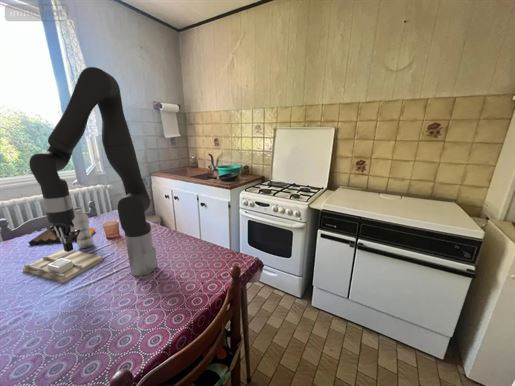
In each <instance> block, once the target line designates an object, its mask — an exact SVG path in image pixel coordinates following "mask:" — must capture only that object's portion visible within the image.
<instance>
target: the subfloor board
mask: <svg viewBox="0 0 515 386" xmlns="http://www.w3.org/2000/svg"><path fill="white" fill-rule="evenodd" d="M60 258H63V259H67V260H71V261H72V263H73V268H71V269H69V270H67V271H65V272H63V273H62V274H61V273H57V272H53V271H50V270H48V266H47V265H48V264H50V263H52V262H54V261H56V260H58V259H60ZM102 261H104V257H103V256H101V255H96V254H93V253H88V252H84V251H83V252H82V251H78V250H74V249H73V250H72V251H70V252H66V251H64V248H62V249H61V250H58V251H56V252H53V253H52V254H49V255H48V256H46V255H42V258H41V259H39V260H36V261H33V262H32V263H30V264H27V263H24V264H23V267H21V268H22V271H23V272H25V273H30V274H33V275H35V276H39V277H42V278H46V279H50V280H54V281H57V282H60V283H63V284H64V283H66V282H68V281H70V280H71V279H73V278H75V277H76V276H78V275H80V274H81V273H84V272H85V271H86V270H88V269H90V268H92V267H93V266H95V265H97V264H98V263H100V262H102Z"/></svg>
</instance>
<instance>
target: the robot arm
mask: <svg viewBox="0 0 515 386" xmlns="http://www.w3.org/2000/svg"><path fill="white" fill-rule="evenodd" d="M70 96H71V97H70V99H69V101H68V103H67V105H66V107H65V110H64V111H63V114H62V116H61V118H60V119H59V121H58V122H57V123H56V125H55V126H54V128H53V130H52V131H51V133H50V134H49V136H48V138H47V143H48V145H49V146H48V149H47V150H46V151H43V152H38V153H35V154H33V155H32V156H30V158H29V169H30V171H31V174H32V175H33V177H34V178H35V180H36V182H37V183H38V184H39V187H40V190H41V195H42V197H43V198H42V199H43V207H44V211H45V215H46V219H47V222H48V223H49V224H52V226H49V227H48V229H50V231H51V232H52V233H53V235H54V236H55V237H56V239H57V240H58V241H59V240H60V241H61V244H62V246H63V249H64V251H66V252H70V251H72V250H74V245H73V242H75V241H74V240H76V239H77V237H78V235H79V233H80V230H79V229H77V230H76V229H75V228H74V224H73V222H72V220H73V219H74V218H75V213H74V204H73V199H72V198H71V195H70V191H69V185H68V182H67V180H66V179H64V178H61V177H60V175H59V173H58V172H61V171H62V170H64V169H65V168H66V167H67V165H68V164H69V162H70V160H71V158H72V155H73V151H74V149H75V148H76V147H77V145H78V143H79V142H80V140H81V138H82V137H83V136H84V134H85V131H86V129H87V124H88V121H89V118H90V115H91V114H92V111H93V110H94V109H95V107H96V106H97V107H98V109H99V112H100V116H101V141H102V142H101V143H102V146H103V150H104V152H105V156H106V159H107V160H108V163H109V165H110V166H111V167H112V169H113V170H114V171H115V172H116V174H117V175H118V176H119V178H120V179H121V182H122V184H123V189H124V191H125V195H124V196H123V197H121V198H120V199H119V201H118V203H117V213H118V219H119V223H120V228H121V229H122V231H123V232H124V237H125V238H124V239H125V244H126V245H125V246H126V249H127V257H128V262H129V268H130V274H131V275H133V276H135V277H141V276H149V275H150V274H151V273H152V272H154V270H156V269H157V268H158V260H157V259H158V258H157V252H156V247H154V245H153V235H152V228H151V223H150V222H148V221H147V220H146V214H145V212H147V211H148V209H150V206H151V199H150V196H149V193H148V190H147V188H146V186H145V182H144V180H143V177H142V174H141V169H140V166H139V162H138V158H137V153H136V150H135V146H134V141H133V139H132V137H131V136H132V135H131V133H130V129H129V126H128V122H127V120H126V117H125V113H124V109H123V108H124V107H123V102H122V95H121V88H120V86H119V83H118V81H117V80H116V79H115V77H114V76H112V75H111V74H109V73H108V72H106V71H105V70H103V69H102V68H101V69H100V68H98V67H94V66H89V67H85V68H84V69H83V70H81V72H80V74H79V75H78V78H77V81H76V82H75V86H74V87H73V91H72V93H71V95H70ZM155 268H156V269H155Z"/></svg>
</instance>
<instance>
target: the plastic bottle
mask: <svg viewBox="0 0 515 386" xmlns="http://www.w3.org/2000/svg"><path fill="white" fill-rule="evenodd" d="M73 209H74V213H75V218H74V219H73V220H72V222H73V224H74V227H75V229H76V230H77V229H79V230H80V233H79V235H78V237H77V241H76V245H77V247H78V248H79V249H88V248H90V247H92V246H93V245H94V241H95V240H94V238H93V235H91V233H90V229H89V228H90V219H89V218H90V217H89V216H88V214H86V213H85V211H84V208H83V207H73Z"/></svg>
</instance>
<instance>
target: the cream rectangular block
mask: <svg viewBox="0 0 515 386" xmlns="http://www.w3.org/2000/svg"><path fill="white" fill-rule="evenodd" d="M47 266H48V270H50V271H53V272H57V273H61V274H62V273H63V272H65V271H67V270H69V269H71V268H73V263H72V261H71V260H67V259H63V258H60V259H58V260H56V261H54V262H52V263H50V264H48V265H47Z"/></svg>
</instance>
